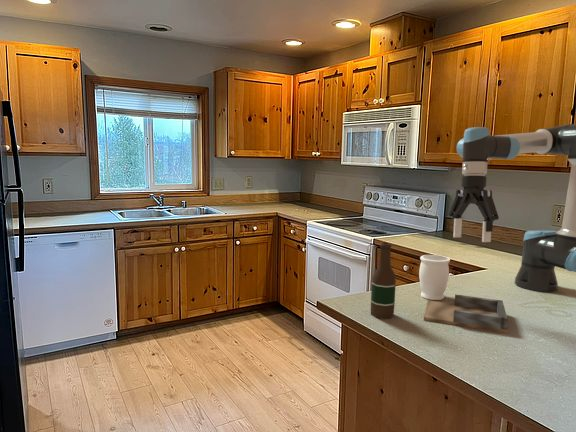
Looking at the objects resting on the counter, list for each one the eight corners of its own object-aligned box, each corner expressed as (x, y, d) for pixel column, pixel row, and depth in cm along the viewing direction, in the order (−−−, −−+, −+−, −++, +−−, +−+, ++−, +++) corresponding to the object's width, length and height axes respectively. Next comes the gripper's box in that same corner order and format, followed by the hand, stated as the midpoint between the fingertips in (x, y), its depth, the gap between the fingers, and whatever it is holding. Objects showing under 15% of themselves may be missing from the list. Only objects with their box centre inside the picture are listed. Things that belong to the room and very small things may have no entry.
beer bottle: (365, 314, 139) (368, 243, 135) (378, 308, 144) (382, 239, 141) (385, 321, 133) (389, 247, 130) (398, 315, 139) (402, 243, 135)
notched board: (502, 313, 141) (503, 300, 141) (507, 333, 126) (508, 318, 125) (427, 303, 150) (428, 290, 150) (423, 320, 135) (424, 306, 134)
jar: (424, 290, 165) (426, 253, 162) (451, 296, 158) (454, 257, 156) (413, 297, 156) (415, 257, 154) (441, 303, 150) (444, 262, 148)
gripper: (440, 176, 149) (437, 235, 151) (493, 173, 126) (490, 244, 127) (458, 176, 152) (455, 235, 153) (513, 174, 128) (510, 243, 129)
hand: (471, 239), depth 140 cm, fingers open, 13 cm apart
